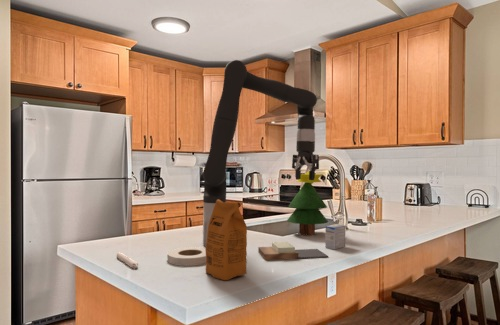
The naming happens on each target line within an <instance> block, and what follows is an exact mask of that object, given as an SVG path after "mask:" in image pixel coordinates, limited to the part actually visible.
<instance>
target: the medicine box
mask: <svg viewBox="0 0 500 325" xmlns="http://www.w3.org/2000/svg"><path fill="white" fill-rule="evenodd" d="M346 229H347V228H346V225H344V224H341V223H335V224H331V225H325V244H324V245H325V246H324V247H325V249H330V250H337V249H340V248H344V247H346V232H347V231H346Z"/></svg>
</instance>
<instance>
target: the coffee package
mask: <svg viewBox="0 0 500 325" xmlns="http://www.w3.org/2000/svg"><path fill="white" fill-rule="evenodd" d="M241 206H242V205H241V203H240V202H239V201H236V202H235V201H230V202H229V201H226V202H222V201H221V200H219V199H218V200H217V201H216V203H215V206H214V209H213V212H212V215H211V218H210V221H209V225H208V231H207V240H206V246H205V248H206V249H205V250H206V263H205V274H209V275H211V276H212V277H213V278H214V279H218V280H222V281H228V280H231V279H232V278H233V279H234V278H235V277H240V276H243V275H245V274H247V254H248V252H247V247H248V246H247V244H248V242H247V241H248V240H247V239H248V234H247V233H248V227H247V226H248V225H247V223H246V221H245V220H244V217H243V215H242V213H241V210H240V208H241Z"/></svg>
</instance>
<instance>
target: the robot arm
mask: <svg viewBox="0 0 500 325" xmlns="http://www.w3.org/2000/svg"><path fill="white" fill-rule="evenodd" d="M223 75H224V77H223V85H222V86H223V87H222V91H221V96H220V99H219V101H218V105H217V109H216V111H215V112H216V113H215V116H214V121H213V126H212V131H211V136H210V138H211V140H210V148H209V152H208V157H207V159H206V160H207V161H206V162H205V165H204V168H203V170H202V178H203V183H204V184H203V185H204V186H203V196H202V197H203V200H202V201H203V204H202V205H203V207H202V208H203V209H202V210H203V213H202V214H203V215H202V216H203V219H202V245H203V246H204V247H206V240H207V231H208V225H209V221H210V218H211V215H212V212H213V209H214V206H215V203H216V201H217V200H218V199H219V200H221V201H222V202H227V171H226V169H227V162H228V161H227V160H228V155H229V151H230V148H231V146H232V144H233V139H234V137H235V135H236V134H235V133H236V129H237V123H238V120H239V112H240V111H239V110H240V99H241V98H240V97H241V93H242V89H247V90H250V91H253V92H254V91H255V92H258V93H261V94H263V95H266V96H268V97H271V98H273V99H276V100H278V101H281V102H284V103H288V104H289V103H291V104H295V105H296V110H297V130H296V131H297V132H296V152H297V154H292V160H291V161H292V162H291V169H293V170H294V172H295V174H294V176H295V180H299V179H301V174H302V170H301V169H302V168H303V167H304V166H306V167H307V168H308V171H309V180H314V178H315V174H316V173H315V172H316V171H317V170H319V169H320V154H315V153H314V152H315V151H316V149H315V148H316V132H315V129H316V119H315V117H314V107H316V104H317V102H318V98H317V96H316V94H315V93H314V92H312V91H310V90H308V89H303V88H300V87H295V86H292V85H289V84H287V83H284V82H282V81H279V80H276V79H270V78H267V77H266V78H265V77H261V76H258V75H255V74H253V73H252V72H249V71H248V69H247V67H246V65H245V63H244V62H243V61H241V60H240V59H239V60H238V59H232V60H231V61H229V62H228V63H227V64H226V65H225V68H224V74H223Z"/></svg>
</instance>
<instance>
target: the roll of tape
mask: <svg viewBox="0 0 500 325" xmlns="http://www.w3.org/2000/svg"><path fill="white" fill-rule="evenodd" d="M205 249H206V247H202V246H201V247H200V246H188V247H187V246H186V247H185V246H184V247H178V248H175V249H171V250H170V251H168V252H167V262H168V263H169V264H172V265H175V266H187V267H188V266H198V265H206V250H205Z"/></svg>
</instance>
